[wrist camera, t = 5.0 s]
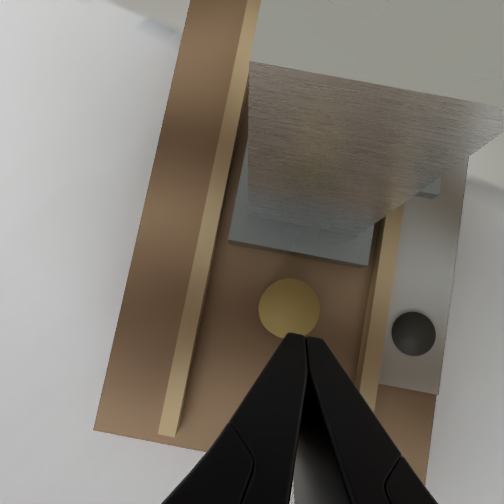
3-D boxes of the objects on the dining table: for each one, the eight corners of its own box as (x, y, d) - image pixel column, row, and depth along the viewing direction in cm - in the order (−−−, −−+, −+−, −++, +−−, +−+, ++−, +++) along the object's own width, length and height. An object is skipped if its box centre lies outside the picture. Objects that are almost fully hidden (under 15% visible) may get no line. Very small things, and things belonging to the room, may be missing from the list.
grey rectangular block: (408, 277, 17) (690, 211, 6) (228, 243, 17) (200, 120, 6) (429, 126, 18) (711, -164, 7) (258, 95, 18) (277, -240, 7)
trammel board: (413, 484, 17) (448, 518, 14) (101, 423, 18) (72, 445, 15) (479, -15, 20) (519, -71, 17) (210, -63, 20) (204, -127, 17)
